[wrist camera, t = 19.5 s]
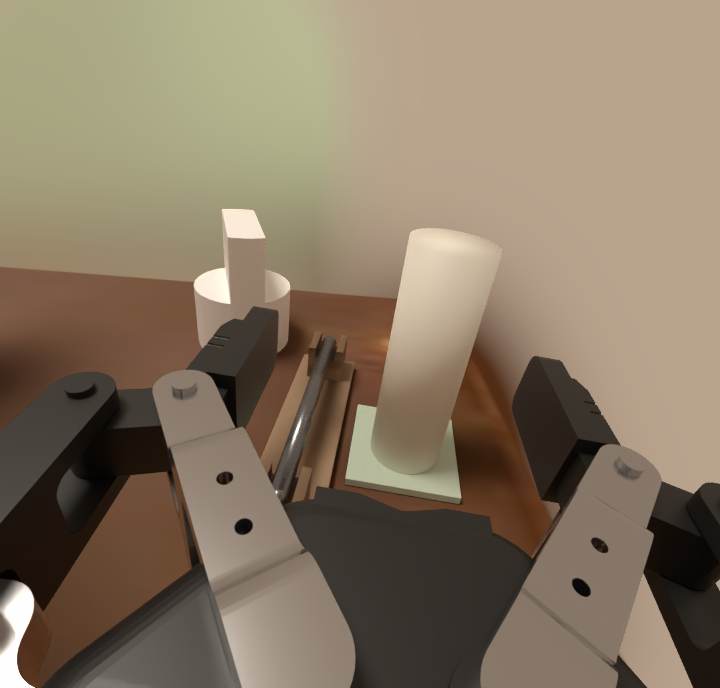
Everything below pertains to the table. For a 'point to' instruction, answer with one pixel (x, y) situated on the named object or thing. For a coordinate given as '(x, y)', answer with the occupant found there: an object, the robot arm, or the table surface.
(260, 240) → the cylinder with rectangular tab
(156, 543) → the table surface
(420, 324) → the tall cream cylinder
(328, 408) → the rail stand
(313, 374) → the metal rod
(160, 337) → the table surface
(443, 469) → the sage mat
